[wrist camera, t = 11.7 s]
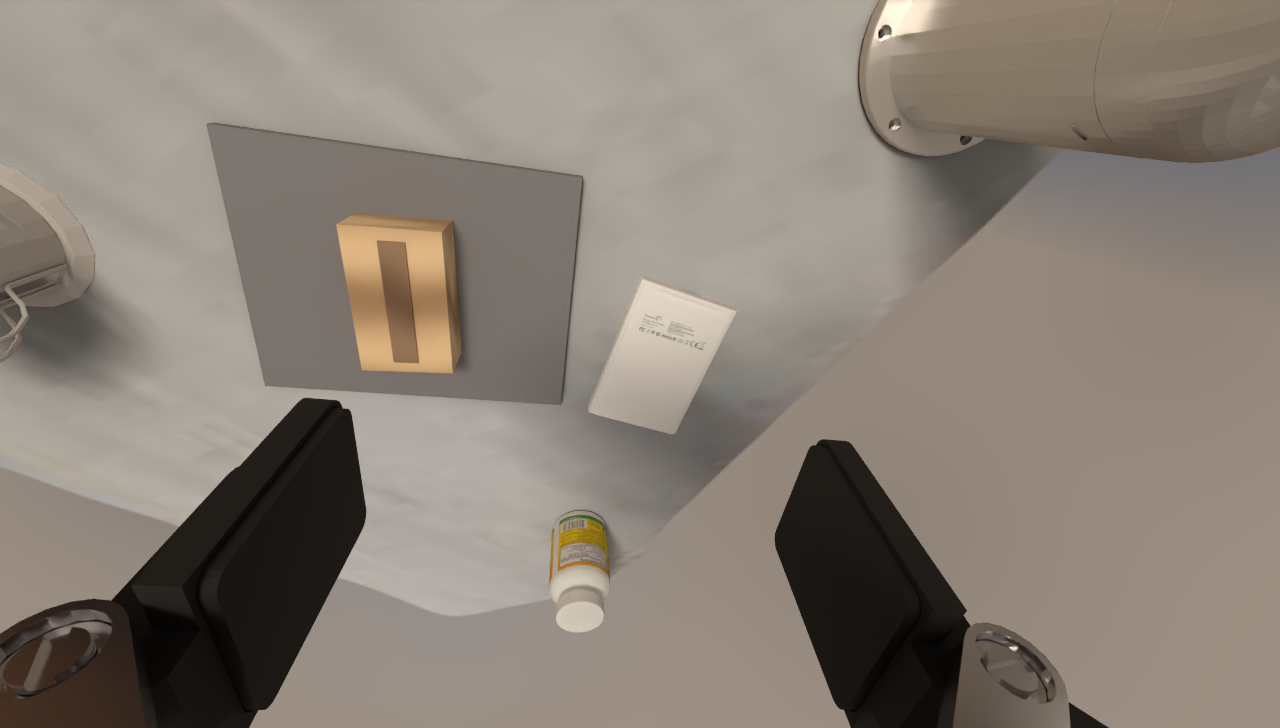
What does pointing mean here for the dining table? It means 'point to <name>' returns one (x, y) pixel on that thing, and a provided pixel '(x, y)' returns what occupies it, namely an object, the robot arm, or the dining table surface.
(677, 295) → the external hard drive
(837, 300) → the dining table surface
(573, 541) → the supplement bottle
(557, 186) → the rubber mat
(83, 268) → the french press
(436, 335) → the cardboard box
